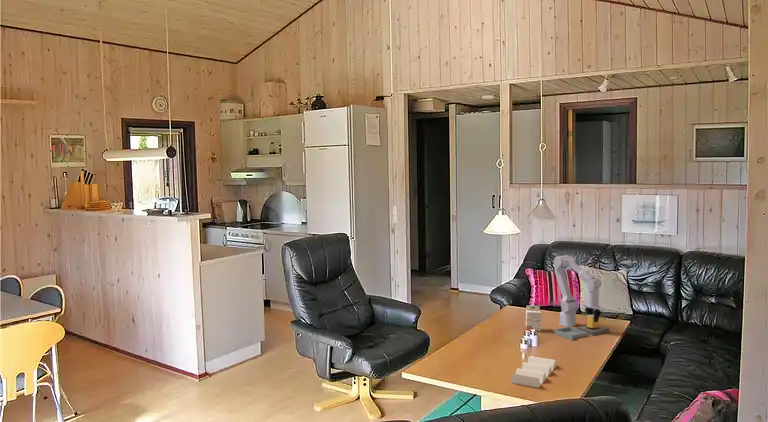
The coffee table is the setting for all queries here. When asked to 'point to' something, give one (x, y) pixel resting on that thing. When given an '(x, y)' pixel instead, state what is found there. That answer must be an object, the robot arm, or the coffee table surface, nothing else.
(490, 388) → the coffee table surface
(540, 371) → the file organizer
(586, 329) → the block
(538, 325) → the ink cartridge box
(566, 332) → the parts tray
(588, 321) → the block
